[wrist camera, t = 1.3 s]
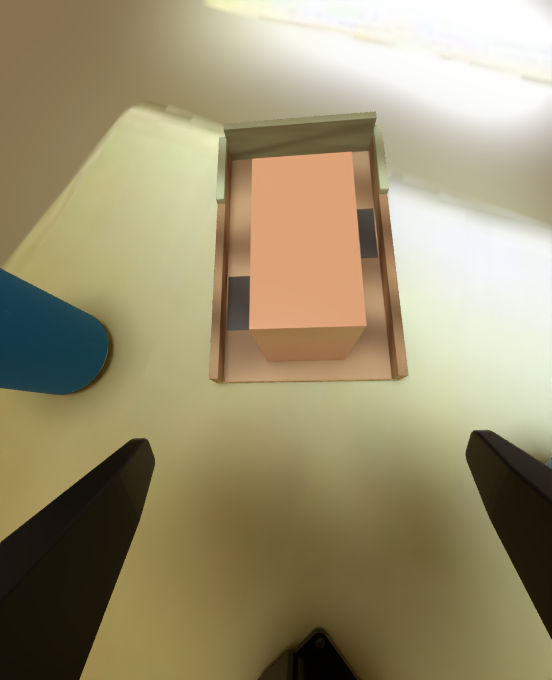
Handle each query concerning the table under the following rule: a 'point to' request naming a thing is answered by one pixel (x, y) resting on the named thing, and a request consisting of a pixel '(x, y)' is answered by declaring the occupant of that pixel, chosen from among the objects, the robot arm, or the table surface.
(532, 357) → the table surface
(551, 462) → the grapes
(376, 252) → the box
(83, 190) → the table surface
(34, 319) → the beverage can
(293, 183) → the brick
